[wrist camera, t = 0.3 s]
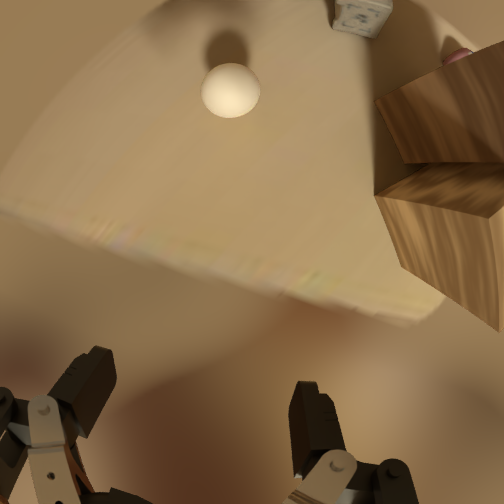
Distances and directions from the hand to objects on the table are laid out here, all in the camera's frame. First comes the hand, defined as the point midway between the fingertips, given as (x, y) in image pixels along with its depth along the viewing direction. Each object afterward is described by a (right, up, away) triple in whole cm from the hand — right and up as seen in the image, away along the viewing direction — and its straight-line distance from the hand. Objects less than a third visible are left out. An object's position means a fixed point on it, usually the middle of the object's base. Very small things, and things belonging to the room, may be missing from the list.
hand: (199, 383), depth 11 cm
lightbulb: (0, +24, +23) cm, 33 cm away
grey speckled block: (+17, +42, +19) cm, 49 cm away
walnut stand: (+27, +25, +23) cm, 44 cm away
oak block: (+28, +12, +27) cm, 40 cm away
